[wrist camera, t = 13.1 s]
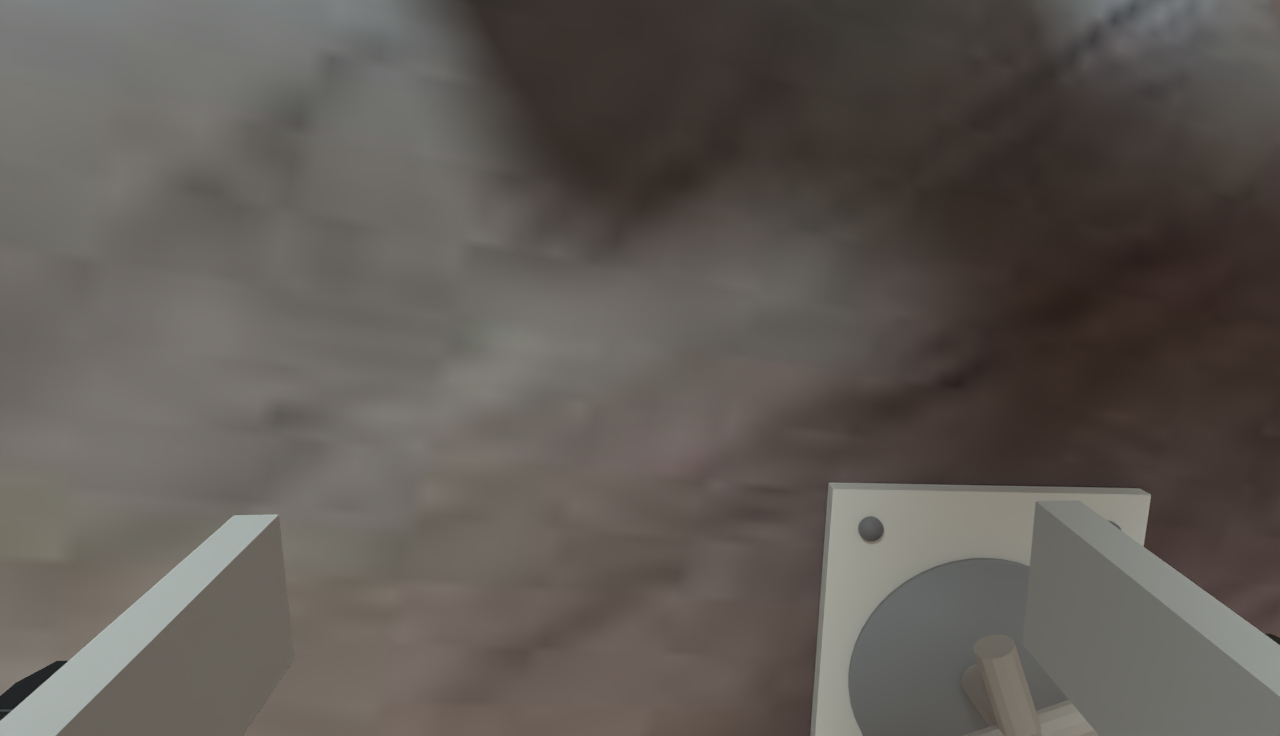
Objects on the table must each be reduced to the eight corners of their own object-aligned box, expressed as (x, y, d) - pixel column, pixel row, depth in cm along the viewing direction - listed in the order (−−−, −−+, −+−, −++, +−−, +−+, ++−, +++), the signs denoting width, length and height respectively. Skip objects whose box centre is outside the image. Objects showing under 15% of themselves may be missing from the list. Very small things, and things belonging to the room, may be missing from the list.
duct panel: (828, 482, 45) (836, 493, 43) (1139, 488, 45) (1158, 498, 43) (803, 828, 49) (809, 849, 47) (1089, 830, 49) (1105, 852, 47)
